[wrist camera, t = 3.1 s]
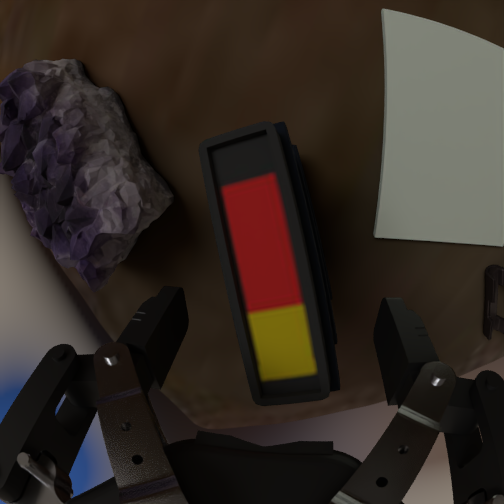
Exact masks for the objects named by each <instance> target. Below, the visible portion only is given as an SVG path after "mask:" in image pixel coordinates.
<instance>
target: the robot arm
mask: <svg viewBox="0 0 504 504" xmlns="http://www.w3.org/2000/svg"><path fill="white" fill-rule="evenodd" d="M188 323H189V318H188V312H187V307H186V301H185V295H184V291H183V288H181V287H170V286H164V287H163V288H162V289H161V291H160V292H159V294H158V295H157V296H156V297H151V298H149V299H148V300H147V301H145V302H144V303H142V305H141V306H140V308H139V309H138V311H137V313H135V315H134V316H133V318H132V320H131V321H130V322H129V324H128V325H127V327H126V328H125V329H124V331H123V332H122V334H121V335H120V337H119V338H118V340H117V341H116V342H111V343H108V344H105V345H103V346H101V347H100V348H99V349H98V350H97V351H96V352H95V354H89V355H88V354H87V355H77V353H76V352H75V350H74V348H73V347H72V346H71V345H68V344H60V345H57V346H54V347H53V348H52V349H50V350H49V351H48V352H47V353H46V355H45V356H44V358H43V359H42V360H41V362H40V363H39V365H38V366H37V367H36V369H35V370H34V372H33V373H32V375H31V377H30V378H29V379H28V381H27V382H26V384H25V385H24V387H23V388H22V390H21V391H20V393H19V394H18V396H17V397H16V399H15V401H14V402H13V404H12V405H11V407H10V409H9V410H8V412H7V414H6V415H5V417H4V419H3V421H2V422H1V424H0V499H1V500H2V501H3V502H5V503H7V504H404V503H403V502H402V499H403V498H404V496H405V495H406V493H407V492H408V490H409V488H410V487H411V485H412V483H413V482H414V480H415V478H416V477H417V475H418V473H419V471H420V470H421V468H422V466H423V464H424V462H425V460H426V459H427V457H428V455H429V453H430V451H431V449H432V447H433V445H434V443H435V441H436V439H437V437H438V434H439V432H444V436H445V441H446V447H447V453H448V458H449V465H450V473H451V480H452V490H453V500H454V504H504V380H503V379H502V378H501V376H500V375H499V374H497V373H496V372H493V371H489V370H485V371H482V372H480V373H479V374H478V375H477V377H476V378H475V380H472V379H465V378H459V377H456V375H455V372H454V371H453V369H452V368H451V367H450V366H448V365H447V364H445V363H442V362H440V361H439V359H438V356H437V354H436V352H435V349H434V347H433V344H432V342H431V340H430V338H429V336H428V333H427V331H426V329H425V326H424V324H423V322H422V320H421V318H420V317H419V316H418V315H417V314H416V313H415V312H414V311H413V310H407V308H406V306H405V304H404V301H403V299H402V298H383V299H382V302H381V305H380V309H379V313H378V317H377V320H376V324H375V327H374V344H375V348H376V352H377V357H378V361H379V365H380V370H381V374H382V379H383V383H384V388H385V393H386V398H387V403H388V406H389V405H398V409H399V410H398V412H397V413H396V415H395V417H394V418H393V420H392V421H391V423H390V425H389V426H388V428H387V429H386V430H385V432H384V434H383V435H382V436H381V438H380V440H379V441H378V442H377V444H376V445H375V447H374V448H373V449H372V451H371V452H370V453H369V455H368V456H367V458H366V459H365V460H364V461H363V463H362V462H360V461H359V460H358V459H356V458H354V457H352V456H350V455H348V454H346V453H343V452H340V451H336V450H333V441H328V442H324V441H323V442H321V441H318V442H317V441H298V442H292V443H287V444H280V445H274V446H266V447H265V446H259V445H256V444H253V443H250V442H247V441H244V440H241V439H238V438H235V437H233V436H230V435H223V434H215V433H210V432H204V431H198V432H197V436H196V439H188V440H182V441H178V442H175V443H172V444H168V442H167V440H166V438H165V436H164V433H163V431H162V429H161V426H160V424H159V422H158V419H157V417H156V414H155V412H154V409H153V407H152V404H151V401H150V399H149V396H148V392H149V390H150V388H155V389H160V390H161V388H162V386H163V383H164V381H165V379H166V376H167V374H168V372H169V370H170V368H171V365H172V363H173V361H174V359H175V356H176V354H177V352H178V350H179V348H180V345H181V343H182V341H183V339H184V337H185V334H186V332H187V329H188ZM64 394H65V395H66V398H65V400H64V401H63V403H62V405H61V407H60V409H59V411H58V413H57V414H56V416H55V411H56V407H57V405H58V404H59V402H60V400H61V398H62V397H63V395H64ZM97 411H98V416H99V421H100V425H101V429H102V434H103V438H104V441H105V445H106V449H107V453H108V456H109V460H110V463H111V466H112V469H113V473H114V477H112V478H110V479H109V480H107V481H105V482H103V483H102V484H99V485H97V486H95V487H94V488H92V489H90V490H88V491H86V492H84V493H82V494H80V495H78V496H75V497H73V498H71V497H72V496H73V490H72V482H71V479H70V477H69V473H70V471H71V468H72V466H73V463H74V461H75V459H76V457H77V454H78V452H79V450H80V447H81V445H82V443H83V441H84V438H85V436H86V434H87V432H88V430H89V427H90V425H91V423H92V420H93V419H94V417H95V414H96V412H97ZM478 426H479V427H478ZM479 429H480V431H479ZM480 432H481V435H480ZM481 436H482V439H481ZM482 441H483V443H482Z"/></svg>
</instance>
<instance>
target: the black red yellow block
mask: <svg viewBox="0 0 504 504" xmlns="http://www.w3.org/2000/svg"><path fill="white" fill-rule="evenodd" d="M199 155H200V161H201V166H202V172H203V177H204V182H205V187H206V193H207V198H208V203H209V208H210V213H211V218H212V223H213V228H214V233H215V238H216V243H217V247H218V252H219V257H220V262H221V266H222V271H223V275H224V280H225V285H226V289H227V294H228V298H229V303H230V307H231V311H232V316H233V320H234V324H235V329H236V333H237V337H238V342H239V346H240V350H241V354H242V358H243V362H244V366H245V370H246V375H247V379H248V383H249V387H250V391H251V394H252V398H253V401H254V402H255V403H256V404H257V405H261V406H269V405H281V404H292V403H301V402H310V401H317V400H323V399H325V398H327V397H328V396H329V393H330V392H331V391H337V390H340V378H339V371H338V364H337V357H336V351H335V344H337V334H336V328H335V322H334V316H333V310H332V305H331V300H332V292H331V287H330V282H329V277H328V272H327V267H326V262H325V258H324V253H323V248H322V244H321V240H320V235H319V231H318V227H317V222H316V218H315V214H314V210H313V206H312V202H311V198H310V194H309V190H308V186H307V182H306V178H305V175H304V171H303V167H302V164H301V160H300V156H299V153H298V149H297V146H296V145H291V141H290V137H289V134H288V130H287V127H286V125H285V123H284V122H279V123H275V124H272V123H271V122H265V121H264V122H260V123H257V124H253V125H250V126H247V127H243V128H240V129H237V130H234V131H231V132H228V133H224V134H221V135H218V136H215V137H212V138H210V139H207V140H205V141H203V142H202V143H201V144H200V146H199Z"/></svg>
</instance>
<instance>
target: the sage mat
mask: <svg viewBox="0 0 504 504" xmlns="http://www.w3.org/2000/svg"><path fill="white" fill-rule="evenodd" d="M381 15H382V27H383V42H384V67H385V109H384V135H383V151H382V164H381V175H380V185H379V195H378V203H377V211H376V219H375V226H374V232H373V235H374V237H376V238H393V239H409V240H424V241H439V242H453V243H466V244H479V245H491V246H503V244H504V49H503V48H501V47H499V46H497V45H495V44H493V43H491V42H488V41H486V40H484V39H481V38H479V37H477V36H474V35H472V34H469V33H467V32H464V31H461V30H459V29H456V28H453V27H450V26H447V25H444V24H441V23H438V22H435V21H431V20H428V19H425V18H421V17H417V16H413V15H409V14H405V13H401V12H397V11H392V10H387V9H382V11H381Z"/></svg>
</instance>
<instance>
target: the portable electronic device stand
mask: <svg viewBox="0 0 504 504" xmlns="http://www.w3.org/2000/svg"><path fill="white" fill-rule="evenodd" d="M485 277H486V284H485V314H484V328H483V333H484V335H485V336H486V337H487V339H488V340H491V337H492V331H493V329H495V330H497V331H500V332H502V333H504V319H503V318H502V317H500V316H498V315H497V314H496V311H497V297H498V284H499V285H501V286H502V285H504V268H503V267H501V266H498V265H490V266H488V267H487V268H486V271H485Z"/></svg>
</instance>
